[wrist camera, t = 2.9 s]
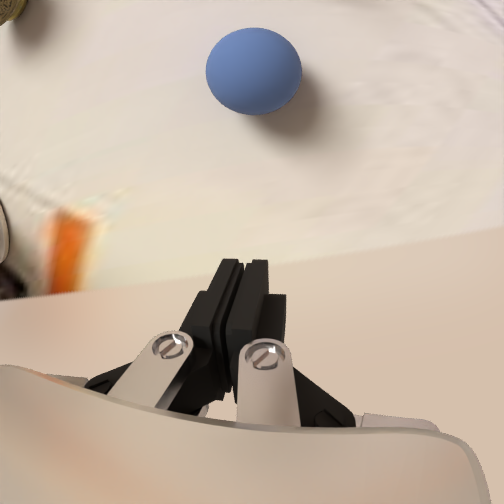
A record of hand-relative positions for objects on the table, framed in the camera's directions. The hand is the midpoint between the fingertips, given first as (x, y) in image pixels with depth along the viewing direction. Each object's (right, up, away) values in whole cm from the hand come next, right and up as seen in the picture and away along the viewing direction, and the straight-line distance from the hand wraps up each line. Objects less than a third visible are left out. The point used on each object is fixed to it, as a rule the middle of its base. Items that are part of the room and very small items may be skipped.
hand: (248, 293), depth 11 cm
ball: (0, +13, +5) cm, 14 cm away
